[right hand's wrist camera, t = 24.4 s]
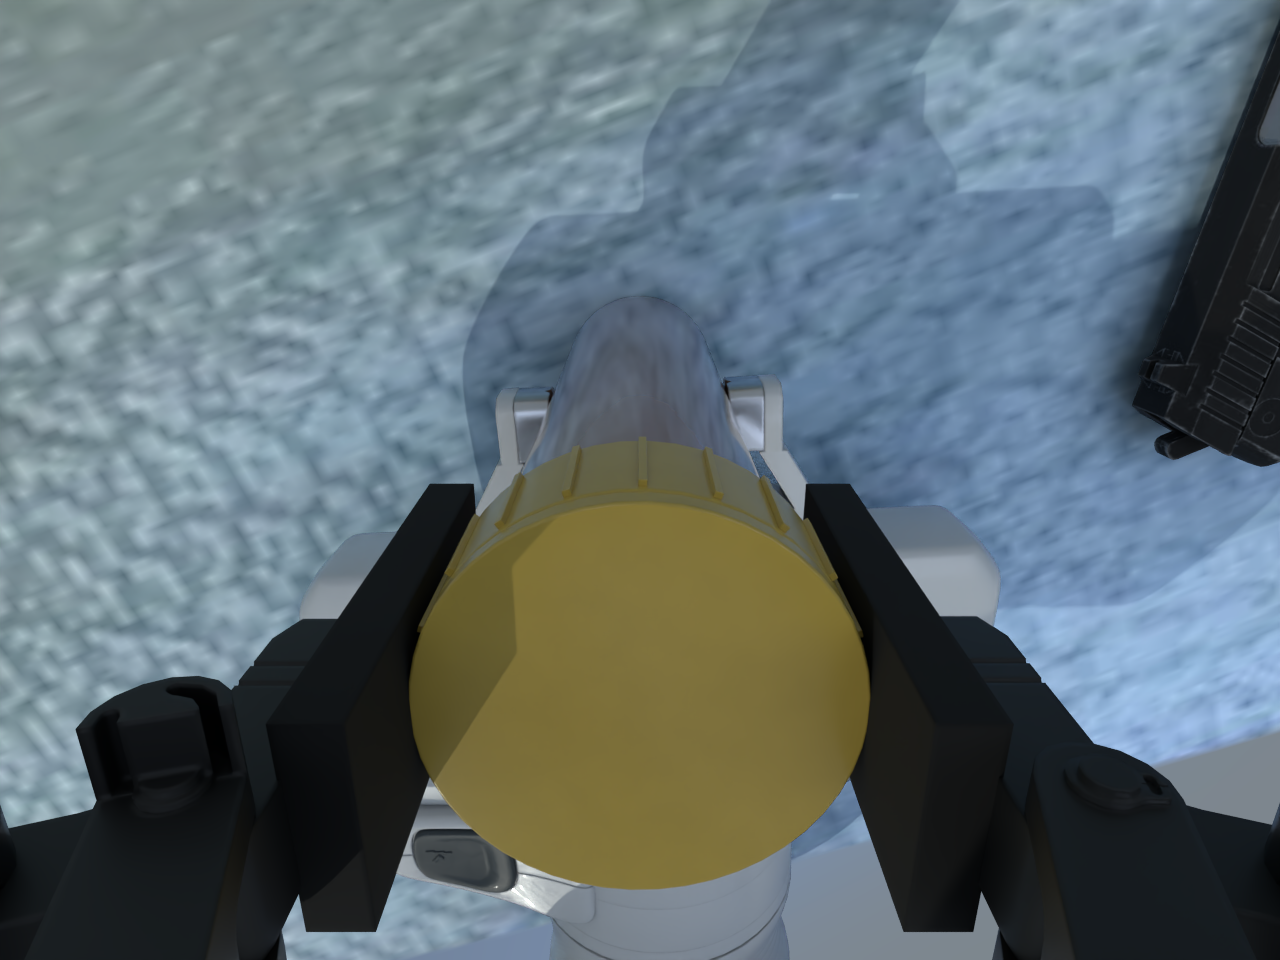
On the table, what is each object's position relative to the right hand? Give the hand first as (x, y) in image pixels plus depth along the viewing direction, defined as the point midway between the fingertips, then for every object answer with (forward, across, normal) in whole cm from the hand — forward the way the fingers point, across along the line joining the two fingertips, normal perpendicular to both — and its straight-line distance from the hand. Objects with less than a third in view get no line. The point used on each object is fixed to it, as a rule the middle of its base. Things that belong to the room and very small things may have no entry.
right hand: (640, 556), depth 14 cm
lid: (-4, 0, 0) cm, 4 cm away
